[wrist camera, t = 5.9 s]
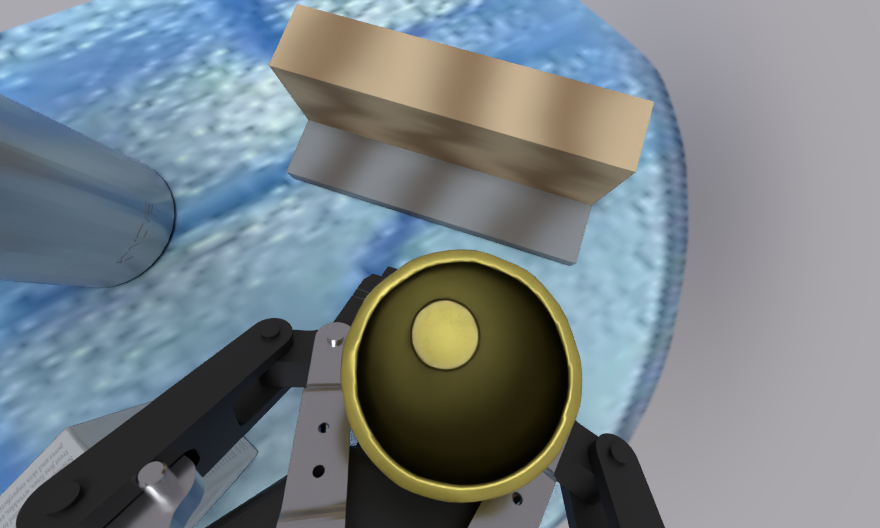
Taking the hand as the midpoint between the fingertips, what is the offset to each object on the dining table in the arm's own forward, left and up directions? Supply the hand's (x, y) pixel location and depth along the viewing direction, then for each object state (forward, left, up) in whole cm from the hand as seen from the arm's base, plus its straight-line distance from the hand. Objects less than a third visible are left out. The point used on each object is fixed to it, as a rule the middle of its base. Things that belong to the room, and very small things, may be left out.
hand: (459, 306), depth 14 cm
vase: (0, -2, -7) cm, 8 cm away
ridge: (-4, +11, -7) cm, 14 cm away
